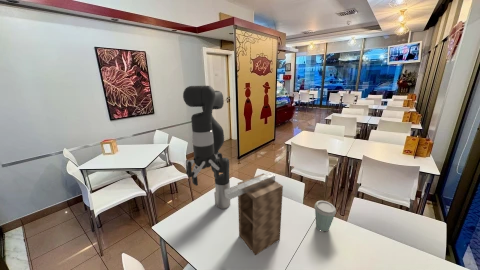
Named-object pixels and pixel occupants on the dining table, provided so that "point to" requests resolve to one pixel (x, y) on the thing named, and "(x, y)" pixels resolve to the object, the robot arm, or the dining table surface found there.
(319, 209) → the disposable coffee cup
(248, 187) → the metal bar
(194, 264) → the dining table surface
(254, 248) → the walnut shelf
